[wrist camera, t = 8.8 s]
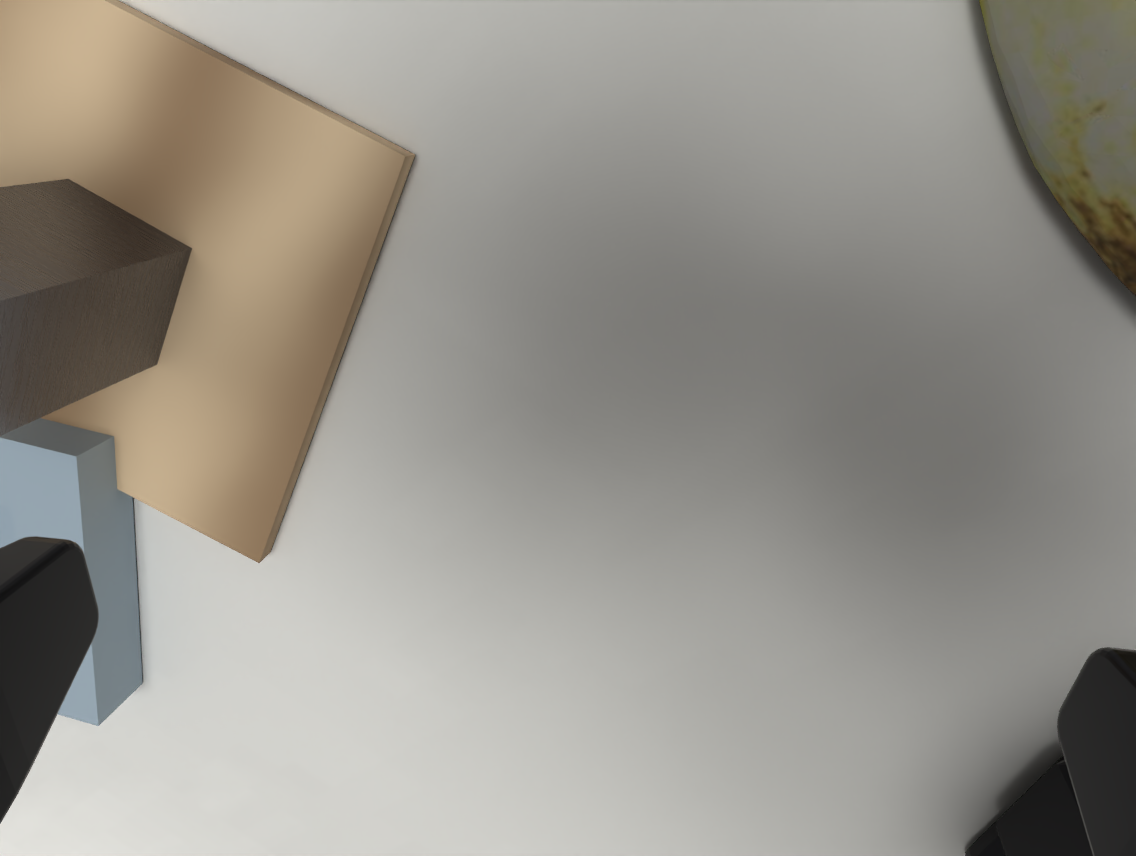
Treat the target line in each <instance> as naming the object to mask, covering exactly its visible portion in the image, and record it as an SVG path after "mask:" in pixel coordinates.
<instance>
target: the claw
mask: <svg viewBox="0 0 1136 856" xmlns="http://www.w3.org/2000/svg"><path fill="white" fill-rule="evenodd" d="M979 2H980V7H981V11H982V15H983V19H984V23H985V27H986V31H987V35H988V40H989V44H990V48H991V51H992V54H993V57H994V60H995V64H996V67H997V70H998V73H999V77H1000V80H1001V83H1002V87H1003V90H1004V93H1005V96H1006V99H1007V102H1008V104H1009V107H1010V110H1011V113H1012V115H1013V118H1014V121H1015V124H1016V126H1017V129H1018V131H1019V133H1020V135H1021V138H1022V140H1023V142H1024V144H1025V147H1026V149H1027V151H1028V153H1029V156H1030V158H1031V160H1032V162H1033V165H1034V166H1035V168H1036V169H1037V171H1038V172H1039V174H1040V175H1041V177H1042V178H1043V180H1044V182H1045V183H1046V185H1047V186H1048V188H1049V189H1050V191H1051V192H1052V194H1053V195H1054V197H1055V199H1056V200H1057V202H1058V203H1059V204H1060V206H1061V207H1062V208H1063V210H1064V211H1065V213H1066V214H1067V215H1068V217H1069V218H1070V219H1071V221H1072V222H1073V224H1074V225H1075V226H1076V228H1077V229H1078V230H1079V232H1080V233H1081V234H1082V235H1083V236H1084V238H1085V239H1086V240H1087V241H1088V242H1089V244H1090V245H1091V246H1092V247H1093V249H1094V250H1095V251H1096V252H1097V254H1098V255H1099V256H1100V258H1101V259H1102V260H1103V262H1104V263H1105V264H1106V266H1107V267H1108V268H1109V269H1110V270H1111V271H1112V272H1113V274H1114V275H1115V276H1116V277H1117V278H1118V279H1119V280H1120V281H1121V282H1122V283H1123V284H1124V285H1125V286H1126V287H1127V288H1128V289H1129V290H1130V291H1131V292H1132V293H1133V294H1134V295H1135V296H1136V0H979Z"/></svg>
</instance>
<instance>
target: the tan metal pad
mask: <svg viewBox="0 0 1136 856" xmlns="http://www.w3.org/2000/svg"><path fill="white" fill-rule="evenodd" d="M414 157H415V154H413V153H411V152H409V151H407V150H405V149H403V148H401V147H399V146H397V145H396V144H394V143H392V142H390V141H388V140H386V139H384V138H382V137H380V136H378V135H376V134H374V133H372V132H370V131H369V130H367V129H365V128H363V127H361V126H359V125H357V124H355V123H353V122H351V121H349V120H347V119H345V118H343V117H342V116H340V115H338V114H336V113H334V112H332V111H330V110H328V109H326V108H324V107H322V106H320V105H318V104H317V103H315V102H313V101H311V100H309V99H307V98H305V97H303V96H301V95H299V94H297V93H295V92H293V91H291V90H290V89H288V88H286V87H284V86H282V85H280V84H278V83H276V82H274V81H272V80H270V79H268V78H266V77H264V76H263V75H261V74H259V73H257V72H255V71H253V70H251V69H249V68H247V67H245V66H243V65H241V64H239V63H238V62H236V61H234V60H232V59H230V58H228V57H226V56H224V55H222V54H220V53H218V52H216V51H214V50H212V49H211V48H209V47H207V46H205V45H203V44H201V43H199V42H197V41H195V40H193V39H191V38H189V37H187V36H185V35H184V34H182V33H180V32H178V31H176V30H174V29H172V28H170V27H168V26H166V25H164V24H162V23H160V22H159V21H157V20H155V19H153V18H151V17H149V16H147V15H145V14H143V13H141V12H139V11H137V10H135V9H133V8H132V7H130V6H128V5H126V4H124V3H122V2H120V1H118V0H0V187H5V186H14V185H22V184H30V183H38V182H46V181H55V180H63V179H70V180H71V181H73V182H75V183H77V184H79V185H80V186H82V187H84V188H86V189H88V190H89V191H91V192H93V193H95V194H96V195H98V196H100V197H102V198H104V199H105V200H107V201H109V202H111V203H112V204H114V205H116V206H118V207H120V208H121V209H123V210H125V211H127V212H128V213H130V214H132V215H134V216H136V217H137V218H139V219H141V220H143V221H145V222H146V223H148V224H150V225H152V226H153V227H155V228H157V229H159V230H161V231H162V232H164V233H166V234H168V235H169V236H171V237H173V238H175V239H177V240H178V241H180V242H182V243H184V244H185V245H187V246H189V247H191V248H192V251H191V254H190V257H189V261H188V264H187V267H186V271H185V274H184V277H183V281H182V284H181V287H180V290H179V294H178V297H177V300H176V304H175V307H174V310H173V314H172V317H171V320H170V324H169V327H168V330H167V334H166V337H165V340H164V344H163V347H162V350H161V354H160V357H159V360H158V364H157V365H155V366H153V367H151V368H148V369H146V370H144V371H142V372H140V373H137V374H135V375H133V376H131V377H129V378H127V379H124V380H122V381H120V382H118V383H116V384H113V385H111V386H109V387H107V388H105V389H102V390H100V391H98V392H96V393H94V394H91V395H89V396H87V397H85V398H83V399H80V400H78V401H76V402H74V403H72V404H69V405H67V406H65V407H63V408H61V409H59V410H56V411H54V412H52V413H50V414H48V415H45V416H43V417H41V418H42V419H46V420H50V421H54V422H58V423H62V424H66V425H70V426H74V427H78V428H82V429H86V430H91V431H95V432H99V433H103V434H107V435H111V436H114V443H115V459H116V476H117V489H118V490H120V491H122V492H124V493H126V494H128V495H130V496H132V497H134V498H135V499H137V500H139V501H141V502H143V503H145V504H147V505H149V506H151V507H153V508H155V509H157V510H158V511H160V512H162V513H164V514H166V515H168V516H170V517H172V518H174V519H176V520H178V521H180V522H181V523H183V524H185V525H187V526H189V527H191V528H193V529H195V530H197V531H199V532H201V533H202V534H204V535H206V536H208V537H210V538H212V539H214V540H216V541H218V542H220V543H222V544H224V545H225V546H227V547H229V548H231V549H233V550H235V551H237V552H239V553H241V554H243V555H245V556H247V557H248V558H250V559H252V560H254V561H256V562H258V563H260V562H261V561H262V560H263V559H264V558H265V557H266V556H267V555H268V554H269V553H270V552H271V549H272V546H273V544H274V541H275V538H276V536H277V533H278V530H279V527H280V525H281V522H282V519H283V516H284V514H285V511H286V508H287V505H288V503H289V500H290V497H291V494H292V492H293V489H294V486H295V483H296V481H297V478H298V475H299V472H300V470H301V467H302V464H303V461H304V459H305V456H306V453H307V450H308V448H309V445H310V442H311V439H312V437H313V434H314V431H315V428H316V426H317V423H318V420H319V418H320V415H321V412H322V409H323V407H324V404H325V401H326V398H327V396H328V393H329V390H330V387H331V385H332V382H333V379H334V376H335V374H336V371H337V368H338V365H339V363H340V360H341V357H342V354H343V352H344V349H345V346H346V343H347V341H348V338H349V335H350V332H351V330H352V327H353V324H354V321H355V319H356V316H357V313H358V310H359V308H360V305H361V302H362V300H363V297H364V294H365V291H366V289H367V286H368V283H369V280H370V278H371V275H372V272H373V269H374V267H375V264H376V261H377V258H378V256H379V253H380V250H381V247H382V245H383V242H384V239H385V236H386V234H387V231H388V228H389V225H390V223H391V220H392V217H393V214H394V212H395V209H396V206H397V203H398V201H399V198H400V195H401V193H402V190H403V187H404V184H405V182H406V179H407V176H408V173H409V171H410V168H411V165H412V162H413V160H414Z"/></svg>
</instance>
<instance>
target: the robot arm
mask: <svg viewBox="0 0 1136 856" xmlns="http://www.w3.org/2000/svg"><path fill="white" fill-rule="evenodd" d="M98 621H99V610H98V605H97V601H96V597H95V593H94V589H93V586H92V582H91V578H90V574H89V570H88V567H87V563H86V559H85V555H84V553H83V550H82V549H81V547H80V546H79V545H78V544H77V543H76V542H73V541H71V540H67V539H57V538H47V537H38V536H34V537H25V538H22V539H19V540H17V541H15V542H12V543H10V544H8V545H6V546H4V547H1V548H0V823H1V822H2V820H3V818H4V816H5V815H6V813H7V811H8V810H9V808H10V806H11V805H12V803H13V801H14V799H15V798H16V796H17V794H18V792H19V790H20V788H21V787H22V785H23V783H24V781H25V779H26V777H27V775H28V773H29V771H30V769H31V767H32V765H33V763H34V761H35V759H36V757H37V755H38V753H39V751H40V749H41V747H42V745H43V743H44V740H45V738H46V736H47V734H48V732H49V730H50V728H51V726H52V724H53V722H54V720H55V718H56V716H57V714H58V712H59V709H60V707H61V705H62V703H63V701H64V699H65V697H66V695H67V693H68V691H69V689H70V687H71V685H72V683H73V681H74V678H75V676H76V674H77V672H78V670H79V668H80V666H81V664H82V662H83V660H84V658H85V656H86V654H87V652H88V650H89V647H90V645H91V643H92V641H93V639H94V637H95V634H96V631H97V627H98ZM1057 729H1058V737H1059V741H1060V745H1061V748H1062V752H1063V755H1064V756H1063V757H1061V758H1060V759H1059V760H1058V761H1057V762H1056V763H1055V764H1054V765H1053V766H1052V767H1051V768H1050V769H1049V770H1048V771H1047V772H1046V773H1045V774H1044V775H1043V776H1042V777H1041V778H1040V779H1039V780H1038V781H1037V782H1036V783H1035V784H1034V785H1033V786H1032V787H1031V788H1030V789H1029V790H1028V791H1027V792H1026V793H1025V794H1024V795H1023V796H1022V797H1021V798H1020V799H1019V800H1018V801H1017V802H1016V803H1015V804H1014V805H1013V806H1011V807H1010V808H1009V809H1008V810H1007V811H1006V812H1005V813H1004V814H1003V815H1002V816H1001V817H1000V818H999V819H998V820H997V821H996V822H995V823H994V824H993V825H992V826H991V827H990V828H989V829H988V830H987V831H986V832H985V833H984V834H983V835H982V836H981V837H980V838H979V839H978V840H977V841H976V842H975V843H974V844H973V845H972V846H971V847H970V848H969V849H968V850H967V852H966V853H965V856H1136V650H1128V649H1119V648H1109V647H1107V648H1100V649H1098V650H1096V651H1095V652H1093V653H1092V654H1091V655H1090V656H1089V657H1088V659H1087V660H1086V662H1085V664H1084V666H1083V668H1082V670H1081V671H1080V673H1079V675H1078V677H1077V679H1076V681H1075V682H1074V684H1073V686H1072V688H1071V690H1070V692H1069V693H1068V695H1067V697H1066V699H1065V701H1064V702H1063V704H1062V706H1061V708H1060V711H1059V715H1058V722H1057Z"/></svg>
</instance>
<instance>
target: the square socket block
mask: <svg viewBox="0 0 1136 856" xmlns="http://www.w3.org/2000/svg"><path fill="white" fill-rule="evenodd" d="M34 536H38V537H47V538H57V539H67V540H71V541H73V542H76V543H77V544H78V545H79V546H80V547H81V549H82V550H83V553H84V555H85V559H86V563H87V567H88V570H89V574H90V578H91V582H92V586H93V589H94V593H95V597H96V601H97V605H98V610H99V621H98V627H97V631H96V634H95V637H94V639H93V641H92V643H91V645H90V647H89V650H88V652H87V654H86V656H85V658H84V660H83V662H82V664H81V666H80V668H79V670H78V672H77V674H76V676H75V678H74V681H73V683H72V685H71V687H70V689H69V691H68V693H67V695H66V697H65V699H64V701H63V703H62V705H61V707H60V709H59V712H58V714H59V715H62V716H66V717H69V718H72V719H76V720H79V721H83V722H86V723H90V724H93V725H96V726H99V725H100V724H101V723H102V722H103V721H104V720H105V719H106V718H107V717H108V716H109V715H110V714H111V713H112V712H113V711H114V710H115V709H116V708H117V707H118V706H120V705H121V704H122V703H123V702H124V701H125V700H126V699H127V698H128V697H129V696H130V695H131V694H132V693H133V692H134V691H135V690H136V689H137V688H138V687H139V686H140V685H141V684H142V683H143V682H142V664H141V645H140V626H139V607H138V588H137V570H136V551H135V532H134V513H133V497H132V496H130V495H128V494H126V493H124V492H122V491H120V490H118V489H117V476H116V459H115V443H114V436H111V435H107V434H103V433H99V432H95V431H91V430H86V429H82V428H78V427H74V426H70V425H66V424H62V423H58V422H54V421H50V420H46V419H42V418H39V419H37V420H34V421H32V422H30V423H28V424H26V425H23V426H21V427H19V428H17V429H15V430H12V431H10V432H8V433H6V434H4V435H1V436H0V548H1V547H4V546H6V545H8V544H10V543H12V542H15V541H17V540H19V539H22V538H25V537H34Z"/></svg>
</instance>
